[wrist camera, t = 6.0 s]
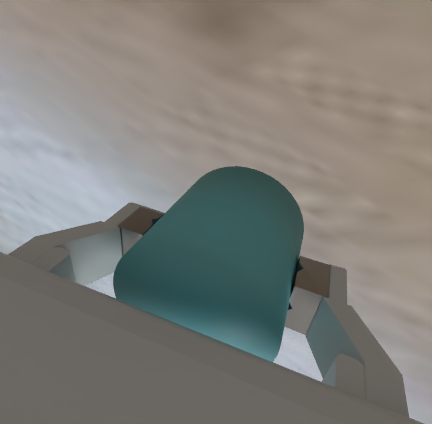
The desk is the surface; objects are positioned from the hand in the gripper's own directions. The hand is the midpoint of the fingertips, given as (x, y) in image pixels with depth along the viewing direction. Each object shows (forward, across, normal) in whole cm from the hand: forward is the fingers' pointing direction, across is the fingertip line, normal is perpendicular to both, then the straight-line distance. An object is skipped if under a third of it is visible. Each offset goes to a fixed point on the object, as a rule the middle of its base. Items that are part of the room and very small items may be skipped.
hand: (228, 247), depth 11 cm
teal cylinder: (+2, 0, 0) cm, 2 cm away
